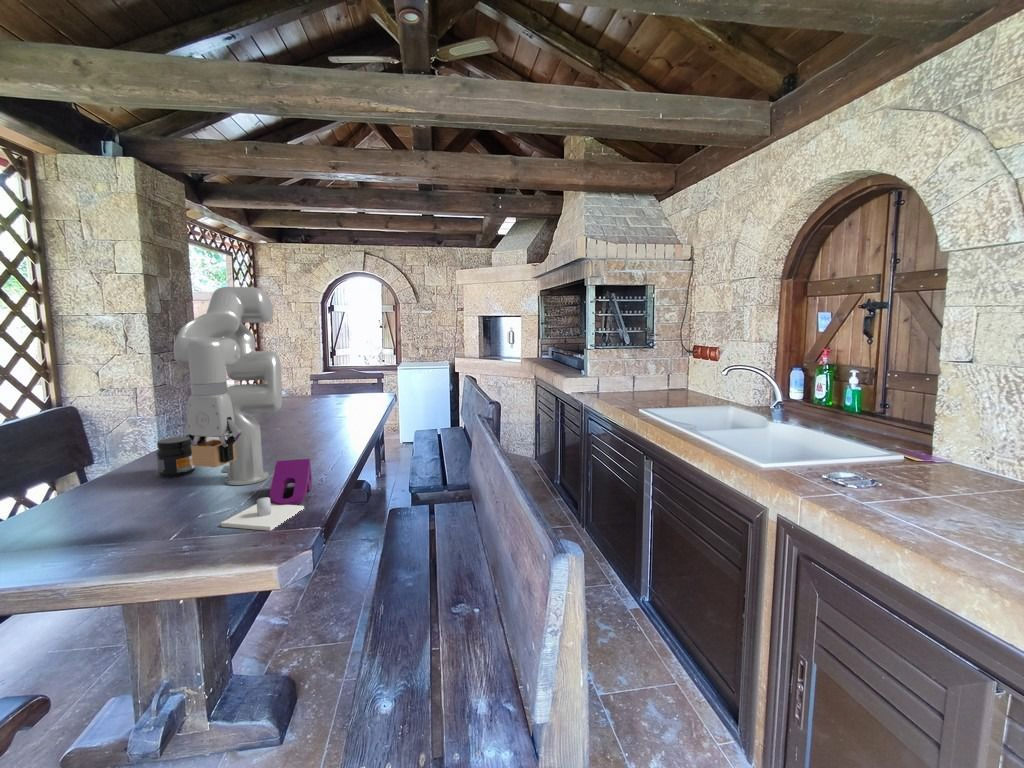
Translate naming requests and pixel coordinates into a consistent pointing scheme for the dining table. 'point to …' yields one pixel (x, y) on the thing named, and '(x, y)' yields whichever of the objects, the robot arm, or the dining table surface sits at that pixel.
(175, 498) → the dining table surface
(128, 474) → the dining table surface
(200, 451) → the open wooden box
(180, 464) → the supplement container
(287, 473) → the mounting bracket
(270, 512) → the flange
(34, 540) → the dining table surface
